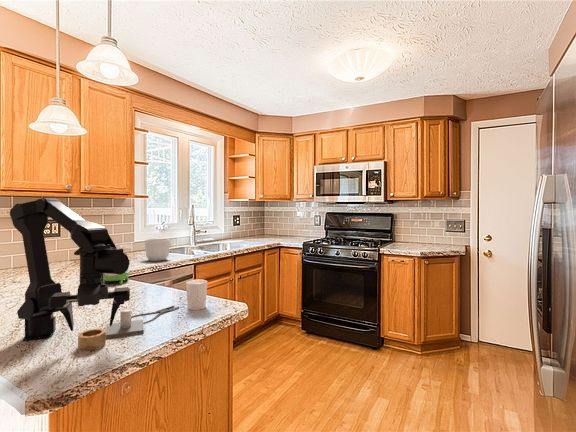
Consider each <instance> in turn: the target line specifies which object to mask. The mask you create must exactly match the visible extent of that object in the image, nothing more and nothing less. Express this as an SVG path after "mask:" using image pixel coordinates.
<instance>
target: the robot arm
mask: <svg viewBox="0 0 576 432" xmlns="http://www.w3.org/2000/svg"><path fill="white" fill-rule="evenodd" d="M9 217H10V219H11V222H12V225H13V227H14V228H15V229H16V230H17V231H18V232H19V233H20V234H21V236H22V237H21V238H22V242H23V249H24V253H25V259H26V265H27V270H28V272H27V273H28V278H29V284H28V286H27V289H26V291H25V293H24V302H23V303H22V304H21V306H20V307H19V308H18V310H17V311H16V313H17V318H18V319H20V320H24V337H23V338H22V341H23V342H25V341H30V340H31V341H32V340H39V339H48V338H51V336H52V335H53V334H54V333H55V331H56V329H57V328H56V326H57V325H56V323H57V322H56V319H57V318H56V316H54V313H58V312H60V313H61V314H62V316H63V317H64V319H65V320H66V323H67V326H68V327H69V330H70V331H71V332H73V331H74V325H75V324H74V313H73V312H74V311H73V303H77V306H78V307H84V306H91V305H92V306H96V305H99V304H100V300H101V301H102V300H109V299H112V305H111V312H110V319H109V324H110V326H112V323H114V320H115V317H116V314H117V312H118V310H119V307H120V306H121V305H124V304H125V302H129V301H130V298H131V291H130V290H131V288H129V287H127V286H124V287H115V288H114V290H113V291H109V284H108V283H106V284H104V273H108V274H118V275H121V274H123V273H125V272H126V271H127V269H129V267H130V262H131V261H130V259H129V256H128V254H126V253H125V252H124V248H117V245H115V244H116V243H115V242H114V241H113V239H112V238H111V236H110V234H109V231H108V229H107V228H106V227H105V226H103V225H101V224H99V223H96V222H92V221H88V220H86V219H84V218H83V217H81V216H80V215H79V214H77V213H76V212H75V211H73V210H72V209H71V208H69V207H67V206H66V205H65V204H64V203H62V201H61V200H60V199H58V198H56V197H51V198H50V197H41V198H38V199H35V200H32V201H28V202H27V201H26V202H23V203H16V204H15V205H14V206H12V207H11V208H10V211H9ZM49 218H51V219H52V220H53V221H54V222H55V223H57V224H59V225H60V226H61V227H63V228H64V229H65V230H67V231H68V232H69V233H70V239H71V240H72V241H73V243H74V244H76V245H77V247H79V248H77V250H75V251H74V252H73V255H74V256H79V283H78V288H77V293H76V294H71V291H64V292H63V291H62V284H61V283H60V282H55V281H54V280H53V279H52V275H51V271H50V265H49V258H48V251H47V246H46V241H45V239H46V238H45V235H44V231H45V229H46V228H47V225H48V223H49Z"/></svg>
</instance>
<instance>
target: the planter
mask: <svg viewBox="0 0 576 432" xmlns="http://www.w3.org/2000/svg"><path fill="white" fill-rule="evenodd" d="M170 243H171V239H170V238H147V239H144V246H145V247H144V248H145V257H146V258H147V260H148V261H150V262H162V261H161V260H163V261H166V260H167V258H168V257H169V254H170V246H171V244H170Z"/></svg>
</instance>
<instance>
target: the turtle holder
mask: <svg viewBox="0 0 576 432" xmlns="http://www.w3.org/2000/svg"><path fill="white" fill-rule="evenodd" d="M129 273H130V269H129V268H128V269H127V271H126V272H125V273H123V274H121V275H118V274H108V273H104V284H107V282H118V281H119V282H118V283H119V284H120V285H122V284H123V283H124V280H125V281H126V282H127V281H129V280H130V279H129V277H130V274H129Z"/></svg>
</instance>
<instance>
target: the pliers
mask: <svg viewBox="0 0 576 432" xmlns="http://www.w3.org/2000/svg"><path fill="white" fill-rule="evenodd" d="M179 309H180V306H176V307H175V305H171V306H168V307H165V308H162V309H159V310H156V311H151V312H145V313H140V314H135V315H131V319H132V318H133V319H134V318H136V317H143V316H149V315H155V314H156V315H155V316H154V317H153V318H151V319H149V320H146V321H143V325H145V324H148V323H150V322H153V321H155V320H157V319H158V318H159V317H160V316H161V315H164V314H167V313H170V312H174V311H176V310H179Z"/></svg>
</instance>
